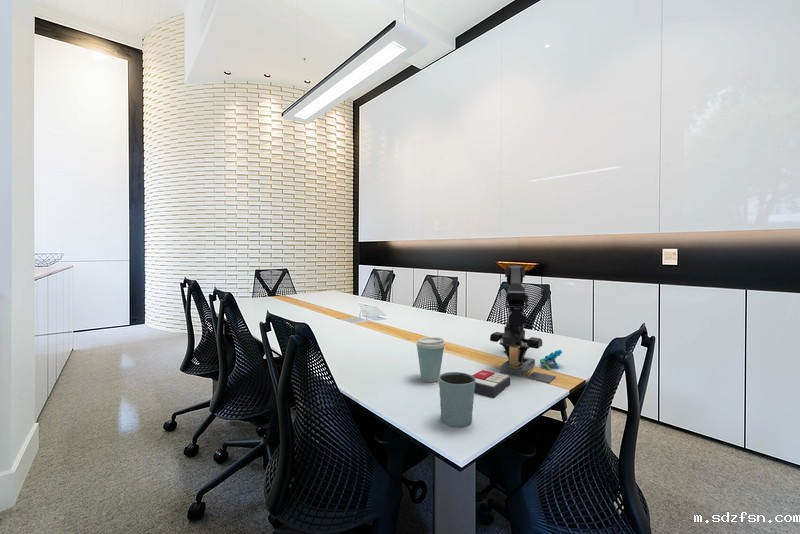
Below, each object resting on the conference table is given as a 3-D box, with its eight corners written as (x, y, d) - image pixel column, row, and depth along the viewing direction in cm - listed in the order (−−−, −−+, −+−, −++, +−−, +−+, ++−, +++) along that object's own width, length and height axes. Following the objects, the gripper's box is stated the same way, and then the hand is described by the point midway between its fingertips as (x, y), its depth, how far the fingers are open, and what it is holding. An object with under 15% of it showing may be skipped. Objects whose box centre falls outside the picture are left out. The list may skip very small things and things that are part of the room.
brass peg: (509, 372, 138) (509, 346, 137) (512, 369, 140) (512, 344, 140) (517, 374, 136) (518, 348, 135) (520, 371, 138) (521, 346, 138)
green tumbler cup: (434, 424, 96) (434, 381, 96) (443, 409, 106) (443, 369, 105) (471, 431, 93) (472, 386, 92) (477, 414, 102) (478, 373, 102)
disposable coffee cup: (412, 382, 127) (412, 340, 127) (420, 372, 138) (420, 334, 137) (440, 386, 124) (441, 343, 123) (447, 375, 134) (447, 336, 133)
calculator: (510, 375, 125) (494, 385, 114) (510, 387, 125) (493, 399, 114) (481, 368, 132) (463, 378, 120) (481, 380, 132) (462, 390, 120)
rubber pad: (526, 378, 131) (526, 377, 131) (533, 372, 137) (533, 371, 137) (549, 383, 126) (549, 382, 126) (555, 377, 132) (555, 376, 132)
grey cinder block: (500, 372, 137) (500, 365, 137) (515, 362, 150) (515, 355, 149) (521, 377, 132) (521, 369, 132) (534, 366, 145) (534, 359, 145)
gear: (552, 357, 151) (564, 345, 144) (560, 370, 147) (574, 358, 140) (532, 364, 146) (544, 352, 139) (541, 377, 143) (554, 366, 136)
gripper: (484, 322, 137) (483, 362, 137) (533, 328, 125) (533, 372, 126) (495, 317, 145) (495, 355, 146) (543, 323, 134) (542, 364, 135)
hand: (515, 361), depth 138 cm, fingers open, 4 cm apart
